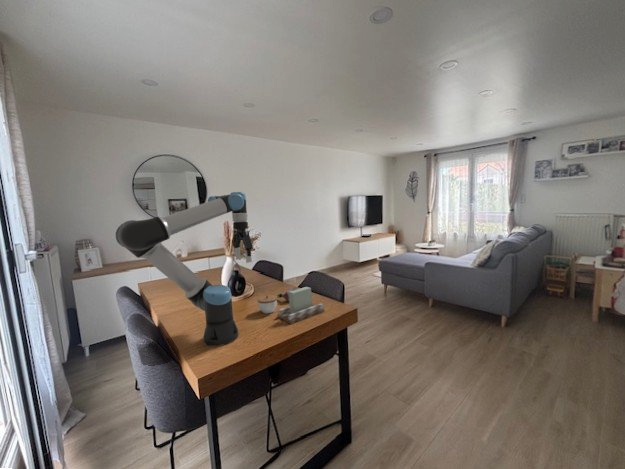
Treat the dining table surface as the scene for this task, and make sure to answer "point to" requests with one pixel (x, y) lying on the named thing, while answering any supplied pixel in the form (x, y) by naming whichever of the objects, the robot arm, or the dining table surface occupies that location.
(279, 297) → the decorative duck model
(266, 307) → the lidded jar
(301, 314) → the grey bumpy tray
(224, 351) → the dining table surface
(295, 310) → the pale green square block
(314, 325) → the dining table surface
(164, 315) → the dining table surface
